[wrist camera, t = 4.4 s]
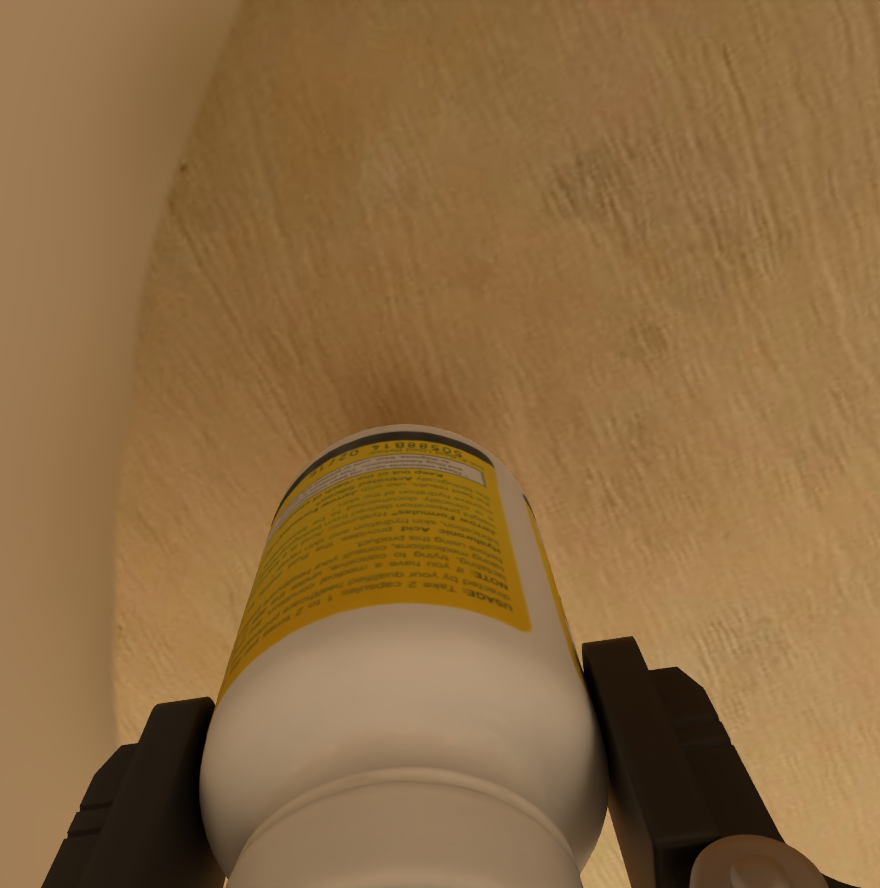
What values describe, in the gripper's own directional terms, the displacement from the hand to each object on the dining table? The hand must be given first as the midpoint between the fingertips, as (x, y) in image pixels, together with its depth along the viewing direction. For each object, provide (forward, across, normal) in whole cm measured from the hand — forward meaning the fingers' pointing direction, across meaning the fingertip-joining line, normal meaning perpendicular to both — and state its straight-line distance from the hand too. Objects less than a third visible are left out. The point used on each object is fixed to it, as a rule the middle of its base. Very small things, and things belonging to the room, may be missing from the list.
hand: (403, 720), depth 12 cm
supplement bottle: (+6, 0, 0) cm, 6 cm away
